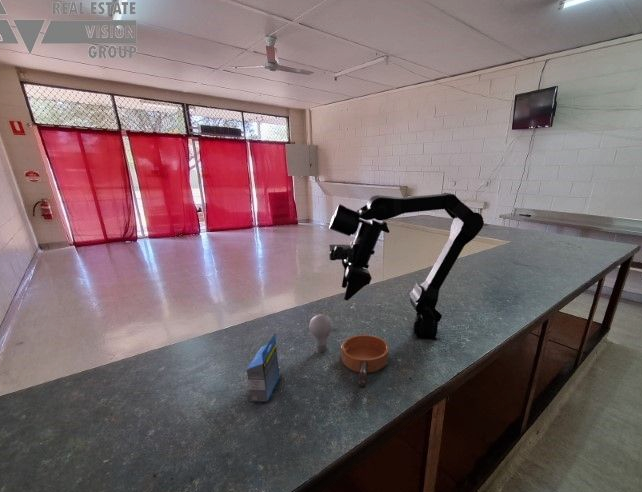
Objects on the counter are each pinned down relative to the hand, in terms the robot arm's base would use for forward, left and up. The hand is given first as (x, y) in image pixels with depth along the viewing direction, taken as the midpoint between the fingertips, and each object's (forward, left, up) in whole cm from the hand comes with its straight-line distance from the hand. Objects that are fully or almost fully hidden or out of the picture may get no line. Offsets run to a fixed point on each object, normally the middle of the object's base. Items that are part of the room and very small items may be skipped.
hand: (344, 293), depth 88 cm
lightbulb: (+5, +7, -15) cm, 17 cm away
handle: (-7, +21, -12) cm, 25 cm away
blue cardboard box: (+15, +23, -15) cm, 32 cm away
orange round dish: (-7, +10, -14) cm, 19 cm away
